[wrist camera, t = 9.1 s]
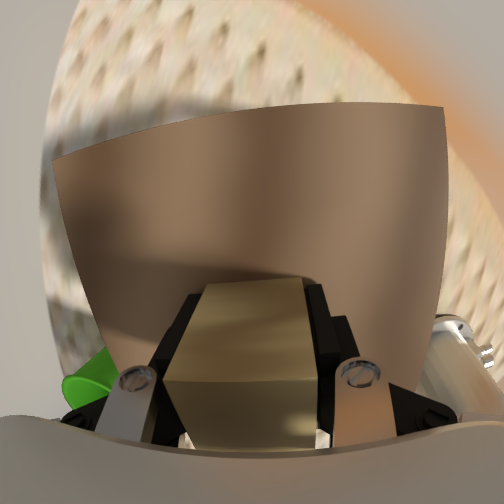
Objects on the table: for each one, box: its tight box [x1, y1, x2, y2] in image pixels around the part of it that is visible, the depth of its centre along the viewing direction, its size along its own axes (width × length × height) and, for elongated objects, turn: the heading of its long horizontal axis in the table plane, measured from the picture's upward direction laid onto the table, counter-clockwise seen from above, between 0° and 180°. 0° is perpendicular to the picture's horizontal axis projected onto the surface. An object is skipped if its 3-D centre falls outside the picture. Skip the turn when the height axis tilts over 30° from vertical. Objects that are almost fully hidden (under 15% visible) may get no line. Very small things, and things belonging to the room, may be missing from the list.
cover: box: [53, 102, 448, 452], centre depth 15 cm, size 15×15×19 cm
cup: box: [62, 347, 119, 410], centre depth 27 cm, size 9×9×11 cm
